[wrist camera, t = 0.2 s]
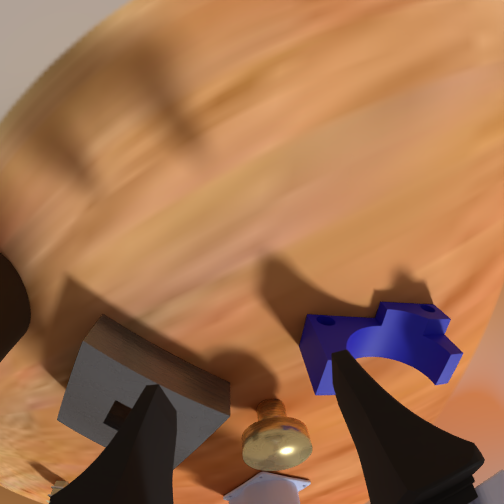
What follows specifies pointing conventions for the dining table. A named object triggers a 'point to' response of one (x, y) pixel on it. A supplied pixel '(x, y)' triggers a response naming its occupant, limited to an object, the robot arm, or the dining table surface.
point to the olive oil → (12, 307)
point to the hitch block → (139, 388)
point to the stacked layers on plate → (57, 487)
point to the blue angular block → (381, 341)
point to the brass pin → (275, 439)
